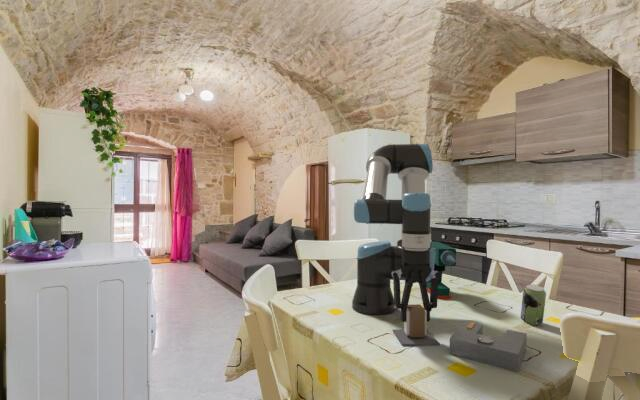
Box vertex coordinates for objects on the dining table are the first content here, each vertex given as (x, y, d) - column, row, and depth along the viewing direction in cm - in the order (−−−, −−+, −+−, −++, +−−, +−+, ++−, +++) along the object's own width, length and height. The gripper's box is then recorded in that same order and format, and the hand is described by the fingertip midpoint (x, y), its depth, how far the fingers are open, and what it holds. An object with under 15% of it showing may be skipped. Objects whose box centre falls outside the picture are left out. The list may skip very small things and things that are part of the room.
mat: (402, 347, 92) (402, 343, 92) (392, 333, 102) (392, 329, 102) (439, 347, 93) (439, 343, 93) (426, 332, 103) (426, 329, 103)
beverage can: (532, 319, 115) (533, 282, 115) (551, 327, 107) (551, 288, 107) (515, 320, 114) (515, 283, 113) (532, 328, 106) (533, 288, 106)
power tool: (466, 310, 124) (467, 253, 123) (446, 309, 124) (447, 252, 124) (438, 286, 156) (438, 241, 155) (422, 286, 156) (422, 241, 155)
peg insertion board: (518, 372, 79) (518, 351, 79) (449, 353, 88) (449, 335, 88) (526, 348, 91) (526, 331, 91) (465, 335, 100) (465, 318, 100)
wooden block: (420, 332, 99) (420, 304, 99) (425, 337, 95) (425, 308, 95) (406, 332, 99) (406, 304, 99) (410, 338, 95) (410, 308, 95)
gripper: (388, 250, 93) (388, 338, 93) (451, 250, 94) (451, 338, 94) (382, 246, 101) (381, 328, 101) (440, 246, 101) (440, 327, 102)
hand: (415, 332), depth 98 cm, fingers closed on wooden block, 4 cm apart
